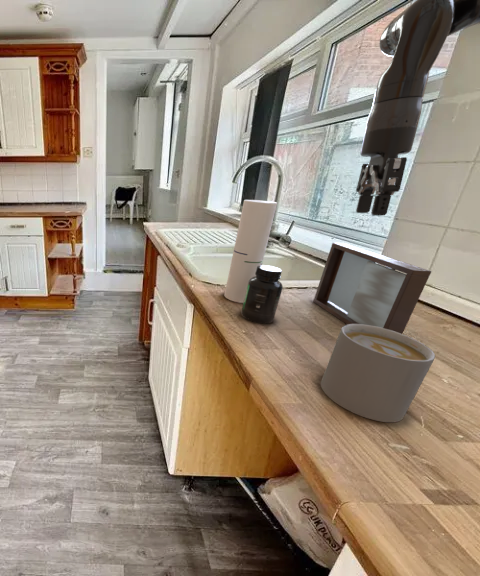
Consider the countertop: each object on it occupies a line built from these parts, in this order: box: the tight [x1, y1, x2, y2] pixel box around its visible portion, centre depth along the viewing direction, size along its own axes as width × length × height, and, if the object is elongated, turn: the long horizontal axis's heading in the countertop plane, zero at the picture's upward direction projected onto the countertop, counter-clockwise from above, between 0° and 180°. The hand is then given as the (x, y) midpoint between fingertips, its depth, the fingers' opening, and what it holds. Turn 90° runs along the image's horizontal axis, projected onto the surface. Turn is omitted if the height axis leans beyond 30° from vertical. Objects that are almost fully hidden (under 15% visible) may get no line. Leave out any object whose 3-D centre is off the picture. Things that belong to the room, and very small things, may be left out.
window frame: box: [313, 242, 432, 335], centre depth 68 cm, size 22×3×16 cm, turn 177°
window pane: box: [326, 251, 395, 312], centre depth 73 cm, size 10×9×13 cm
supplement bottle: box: [241, 264, 284, 325], centre depth 69 cm, size 7×7×12 cm
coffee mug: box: [320, 324, 436, 423], centre depth 46 cm, size 13×10×10 cm
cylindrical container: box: [223, 199, 278, 304], centre depth 77 cm, size 7×7×25 cm
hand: (369, 213), depth 64 cm, fingers open, 8 cm apart
